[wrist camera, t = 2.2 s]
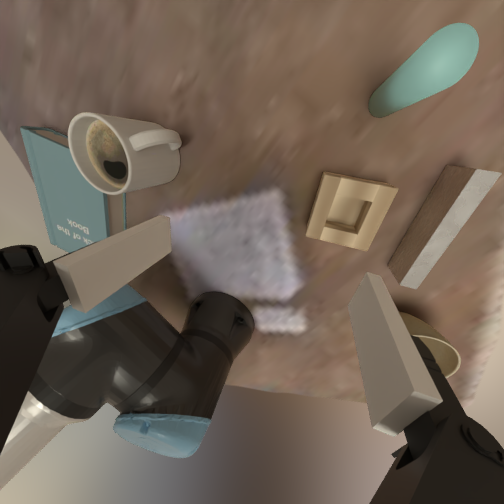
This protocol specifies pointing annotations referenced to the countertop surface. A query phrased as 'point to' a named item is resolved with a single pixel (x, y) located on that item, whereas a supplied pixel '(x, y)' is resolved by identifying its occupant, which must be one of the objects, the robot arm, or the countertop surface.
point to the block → (349, 210)
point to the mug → (123, 152)
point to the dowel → (428, 69)
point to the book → (69, 194)
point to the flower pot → (434, 344)
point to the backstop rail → (439, 222)
